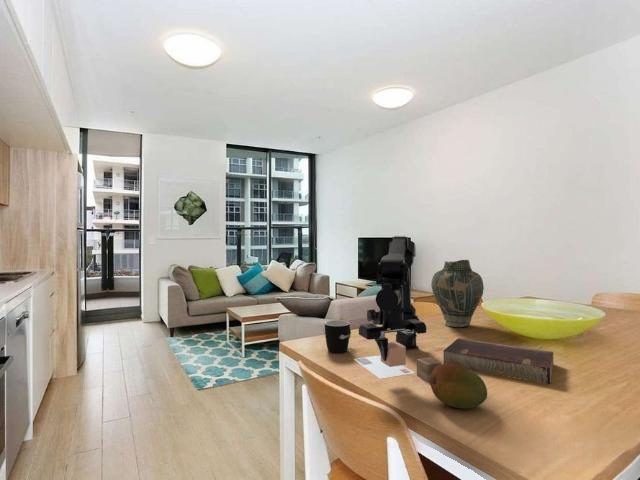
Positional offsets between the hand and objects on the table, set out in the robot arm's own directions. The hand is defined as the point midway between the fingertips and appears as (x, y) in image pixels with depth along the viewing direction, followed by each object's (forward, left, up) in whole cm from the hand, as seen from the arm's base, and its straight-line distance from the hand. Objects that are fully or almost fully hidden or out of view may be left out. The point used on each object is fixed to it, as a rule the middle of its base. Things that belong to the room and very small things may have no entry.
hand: (392, 359), depth 104 cm
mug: (+2, -33, -7) cm, 34 cm away
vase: (-61, -46, -7) cm, 77 cm away
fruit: (-8, +17, -7) cm, 20 cm away
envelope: (-4, -13, -7) cm, 15 cm away
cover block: (0, 0, -1) cm, 1 cm away
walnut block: (-12, 0, -7) cm, 14 cm away
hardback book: (-39, -1, -8) cm, 40 cm away
